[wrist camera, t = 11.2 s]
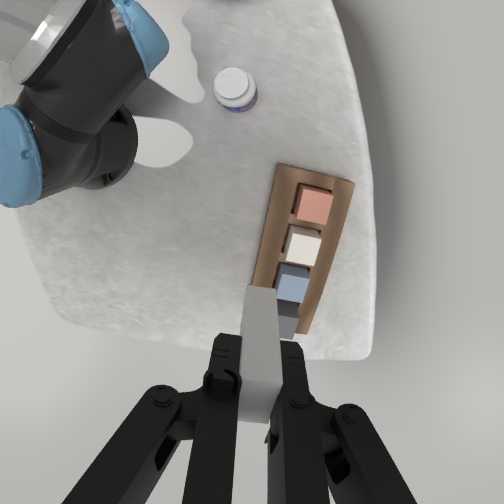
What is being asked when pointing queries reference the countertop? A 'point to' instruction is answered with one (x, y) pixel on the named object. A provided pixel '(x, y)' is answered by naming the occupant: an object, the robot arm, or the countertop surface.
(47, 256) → the countertop surface
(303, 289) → the key blue
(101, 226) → the countertop surface
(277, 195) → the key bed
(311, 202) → the key brick
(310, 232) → the key ivory
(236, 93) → the pill bottle
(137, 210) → the countertop surface
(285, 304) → the key charcoal
